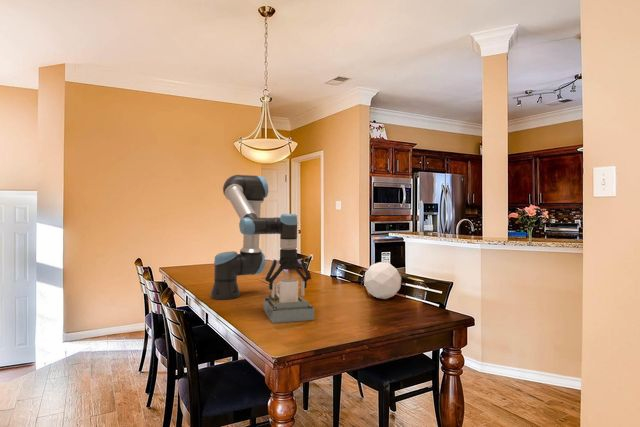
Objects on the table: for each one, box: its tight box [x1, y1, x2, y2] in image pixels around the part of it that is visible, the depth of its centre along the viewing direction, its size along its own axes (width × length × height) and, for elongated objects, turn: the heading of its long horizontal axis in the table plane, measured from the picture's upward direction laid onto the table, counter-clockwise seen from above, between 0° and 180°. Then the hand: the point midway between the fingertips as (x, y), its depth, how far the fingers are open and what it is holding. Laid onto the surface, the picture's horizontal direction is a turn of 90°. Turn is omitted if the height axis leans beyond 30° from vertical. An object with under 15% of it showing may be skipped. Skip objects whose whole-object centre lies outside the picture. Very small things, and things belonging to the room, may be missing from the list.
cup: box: [275, 278, 299, 303], centre depth 175 cm, size 8×12×10 cm
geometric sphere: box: [363, 261, 402, 300], centre depth 210 cm, size 19×20×20 cm
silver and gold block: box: [263, 292, 315, 324], centre depth 175 cm, size 22×18×8 cm
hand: (288, 296), depth 175 cm, fingers open, 13 cm apart
